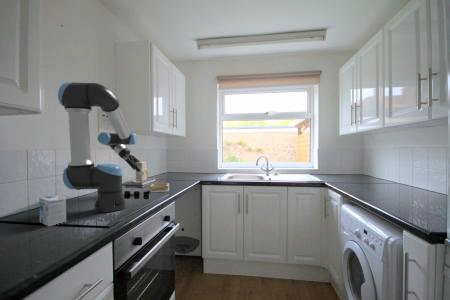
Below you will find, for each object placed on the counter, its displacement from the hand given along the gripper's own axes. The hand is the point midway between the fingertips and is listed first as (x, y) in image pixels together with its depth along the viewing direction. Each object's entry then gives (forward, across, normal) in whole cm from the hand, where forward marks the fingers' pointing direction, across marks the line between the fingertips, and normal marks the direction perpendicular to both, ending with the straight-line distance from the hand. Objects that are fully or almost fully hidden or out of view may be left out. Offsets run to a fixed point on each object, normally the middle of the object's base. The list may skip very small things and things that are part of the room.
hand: (145, 174), depth 160 cm
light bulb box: (-4, +59, -25) cm, 64 cm away
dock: (+14, -10, -5) cm, 18 cm away
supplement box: (+1, 0, -6) cm, 6 cm away
